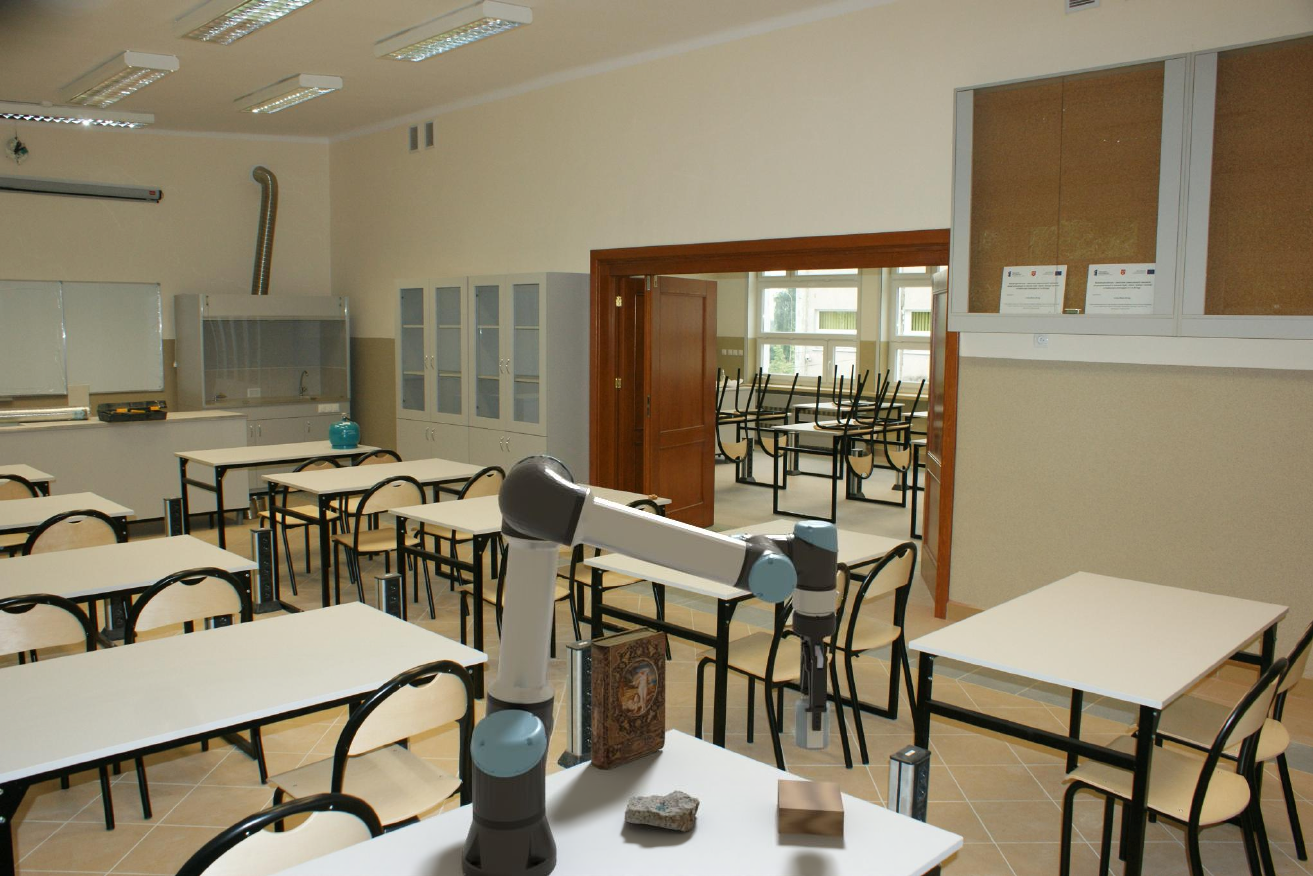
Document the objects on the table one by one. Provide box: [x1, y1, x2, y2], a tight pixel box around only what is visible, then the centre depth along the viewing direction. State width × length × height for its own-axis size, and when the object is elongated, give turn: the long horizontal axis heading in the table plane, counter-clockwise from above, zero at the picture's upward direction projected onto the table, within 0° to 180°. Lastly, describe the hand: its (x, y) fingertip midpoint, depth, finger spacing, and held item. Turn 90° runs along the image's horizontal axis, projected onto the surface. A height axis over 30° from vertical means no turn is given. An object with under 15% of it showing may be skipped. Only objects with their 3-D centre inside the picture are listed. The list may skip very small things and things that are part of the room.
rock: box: [624, 790, 701, 832], centre depth 170 cm, size 13×10×5 cm
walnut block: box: [777, 778, 845, 837], centre depth 172 cm, size 11×11×5 cm
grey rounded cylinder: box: [794, 698, 831, 751], centre depth 170 cm, size 6×6×7 cm
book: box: [590, 626, 667, 770], centre depth 197 cm, size 16×6×25 cm, turn 133°
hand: (811, 738), depth 170 cm, fingers closed on grey rounded cylinder, 6 cm apart
